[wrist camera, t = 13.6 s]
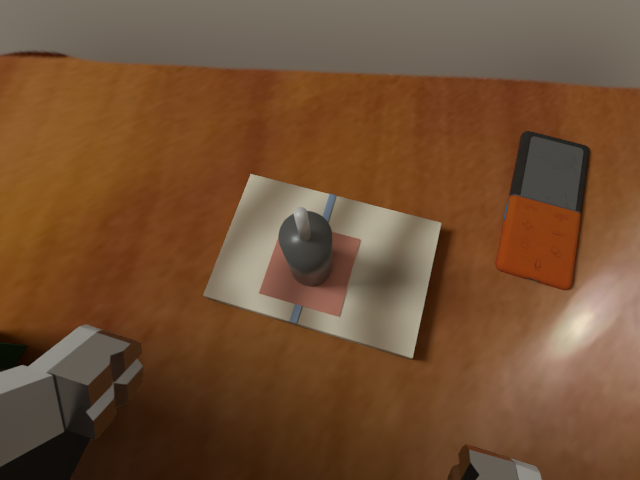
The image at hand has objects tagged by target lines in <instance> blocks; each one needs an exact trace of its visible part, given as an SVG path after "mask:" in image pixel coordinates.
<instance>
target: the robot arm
mask: <svg viewBox="0 0 640 480" xmlns="http://www.w3.org/2000/svg"><path fill="white" fill-rule="evenodd" d="M141 354H142V348H141V343H139V342H137V341H134V340H131V339H128V338H125V337H123V336H120V335H117V334H114V333H111V332H108V331H105V330H102V329H99V328H96V327H93V326H90V325H87V324H86V325H83V326H80V327H78V328H77V329H75V330H74V331H73V332H71V333H70V334H69V335H68V336H66V337H65V338H64V339H62V340H61V341H60V342H59V343H57V344H56V345H55V346H54V347H52V348H51V349H50V350H48V351H47V352H46V353H45V354H43V355H42V356H41V357H39V358H38V359H37V360H36V361H34V362H33V363H32V364H31V365H29V366H25V365H21V366H18V367H15V368H11V369H8V370H5V371H2V372H0V467H1V466H3V465H4V464H6V463H8V462H10V461H12V460H13V459H15V458H17V457H19V456H21V455H23V454H24V453H26V452H28V451H30V450H32V449H34V448H35V447H37V446H39V445H41V444H43V443H44V442H46V441H48V440H50V439H52V438H54V437H55V436H57V435H59V434H61V433H63V432H64V429H65V430H68V431H71V432H74V433H77V434H80V435H83V436H86V437H89V438H92V439H95V440H97V438H98V437H99V436H100V435H101V434H102V433H103V431H104V430H105V429H106V428H107V427H108V426H109V424H110V423H111V422H112V421H113V420H114V419H115V418H116V408H117V407H120V406H122V405H124V404H126V403H128V402H129V401H130V400H131V399H132V397H133V396H134V395H135V394H136V392H137V390H138V388H139V386H140V384H141V382H142V377H143V366H142V364H141V363H140V361H139V360H138V357H139V356H140V355H141ZM458 455H459V464H457V465H455V466H453V467H452V468H451V471H450V473H449V475H448V479H447V480H542V478H541V475H540V471H539V470H538V468H537V467H536V466H534V465H531V464H528V463H524V462H521V461H518V460H515V459H510V458H509V457H506V456H503V455H500V454H496V453H493V452H490V451H486V450H483V449H480V448H476V447H473V446H470V445H466V444H465V445H464V446H463V447H462V448H461V450H460V452H459V454H458Z"/></svg>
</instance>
